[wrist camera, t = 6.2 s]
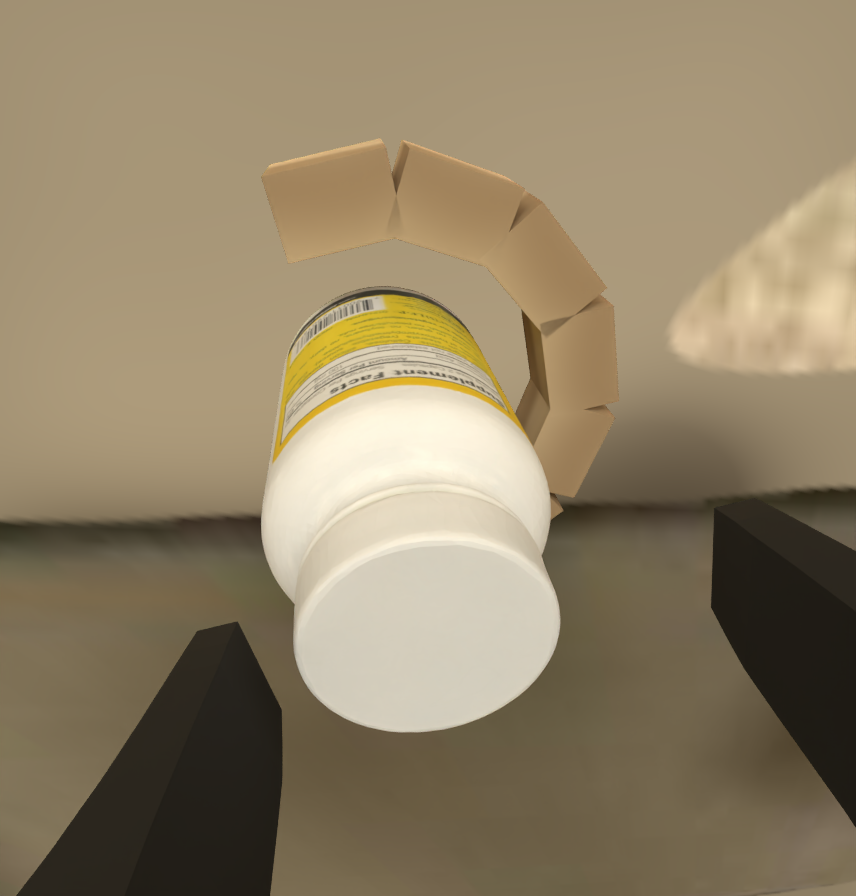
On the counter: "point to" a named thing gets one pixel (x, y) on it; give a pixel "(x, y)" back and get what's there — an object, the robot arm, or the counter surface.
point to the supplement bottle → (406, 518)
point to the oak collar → (484, 243)
